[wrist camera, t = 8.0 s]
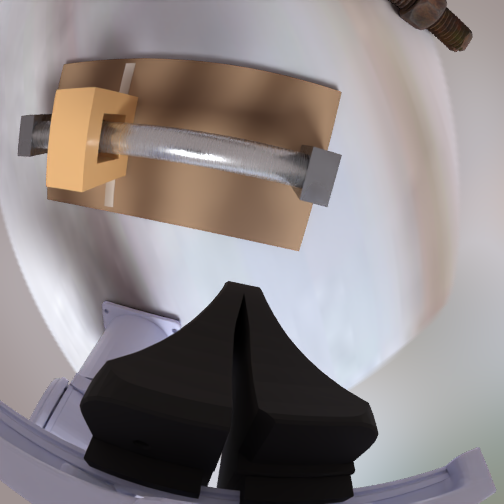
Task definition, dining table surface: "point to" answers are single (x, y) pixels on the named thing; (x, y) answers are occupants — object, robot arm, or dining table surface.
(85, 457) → the robot arm
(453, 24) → the bolt
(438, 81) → the dining table surface
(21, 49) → the dining table surface
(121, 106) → the collar
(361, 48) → the dining table surface
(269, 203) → the board
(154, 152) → the rail
